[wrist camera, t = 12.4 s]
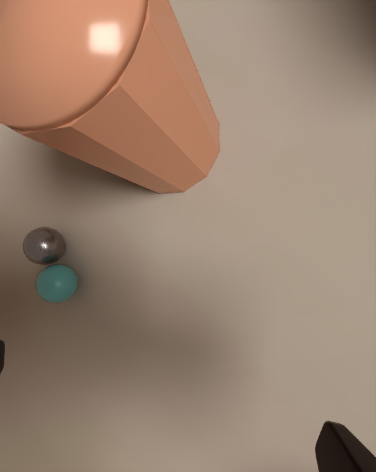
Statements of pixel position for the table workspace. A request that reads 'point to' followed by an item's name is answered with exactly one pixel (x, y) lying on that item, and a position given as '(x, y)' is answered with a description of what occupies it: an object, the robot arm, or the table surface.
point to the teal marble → (56, 283)
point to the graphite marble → (44, 246)
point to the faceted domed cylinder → (108, 88)
